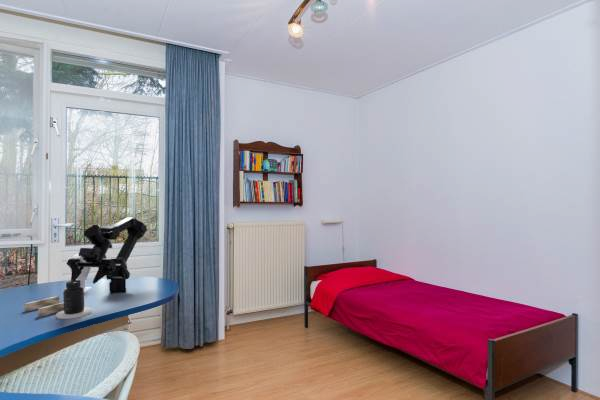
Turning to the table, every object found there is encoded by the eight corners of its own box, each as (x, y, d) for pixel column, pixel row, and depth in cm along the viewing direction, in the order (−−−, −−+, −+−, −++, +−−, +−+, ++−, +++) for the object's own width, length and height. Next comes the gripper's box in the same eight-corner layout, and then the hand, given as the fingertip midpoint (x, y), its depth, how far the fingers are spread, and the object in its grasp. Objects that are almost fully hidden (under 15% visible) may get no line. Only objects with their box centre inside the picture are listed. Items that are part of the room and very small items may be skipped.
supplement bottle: (75, 308, 143) (75, 278, 143) (88, 309, 141) (88, 280, 141) (59, 313, 137) (58, 282, 136) (72, 315, 135) (71, 284, 134)
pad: (93, 306, 147) (93, 305, 147) (90, 316, 136) (90, 314, 136) (59, 310, 142) (59, 309, 142) (52, 320, 131) (52, 319, 131)
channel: (57, 302, 152) (57, 295, 152) (73, 307, 145) (73, 300, 145) (24, 311, 141) (24, 303, 141) (39, 316, 135) (39, 309, 135)
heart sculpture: (81, 294, 163) (80, 256, 163) (69, 295, 162) (68, 256, 162) (94, 285, 178) (93, 250, 178) (83, 286, 178) (82, 250, 177)
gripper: (69, 239, 149) (49, 272, 138) (111, 240, 148) (95, 272, 137) (82, 254, 157) (64, 286, 146) (122, 255, 156) (108, 287, 145)
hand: (82, 282), depth 143 cm, fingers open, 9 cm apart
